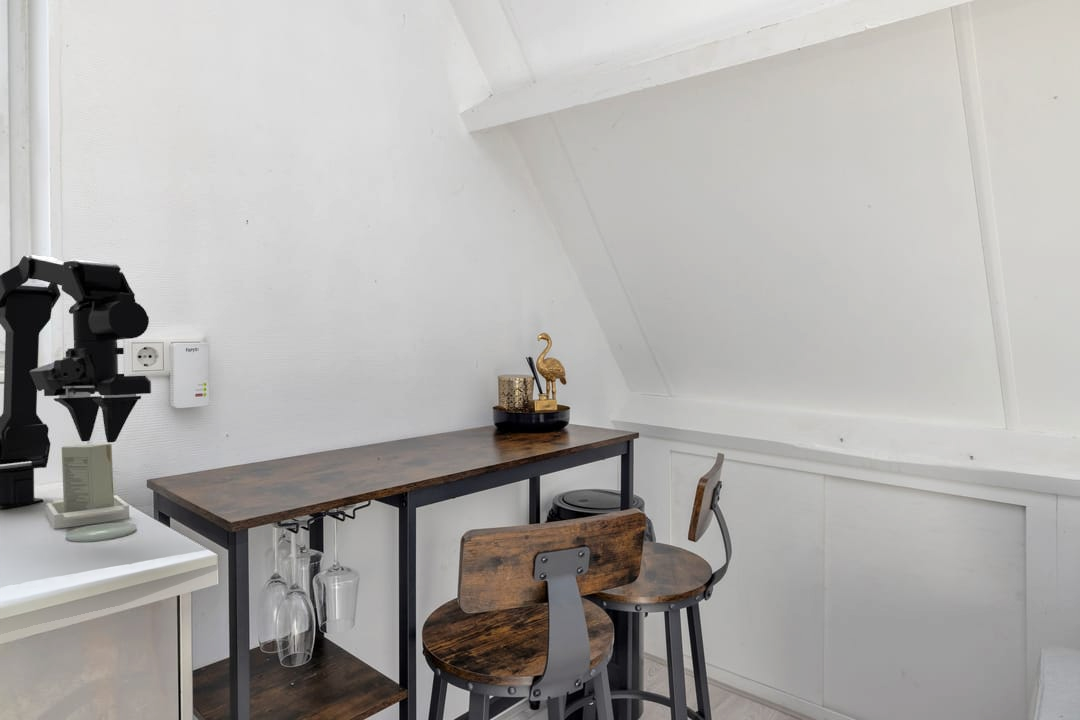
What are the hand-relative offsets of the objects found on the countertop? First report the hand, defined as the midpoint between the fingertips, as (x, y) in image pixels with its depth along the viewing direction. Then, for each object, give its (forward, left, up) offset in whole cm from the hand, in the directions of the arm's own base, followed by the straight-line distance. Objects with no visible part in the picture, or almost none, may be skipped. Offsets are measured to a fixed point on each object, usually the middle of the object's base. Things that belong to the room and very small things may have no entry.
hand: (98, 441), depth 107 cm
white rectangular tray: (-10, +4, -14) cm, 17 cm away
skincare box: (-10, +4, -14) cm, 18 cm away
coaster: (+3, -2, -14) cm, 14 cm away
